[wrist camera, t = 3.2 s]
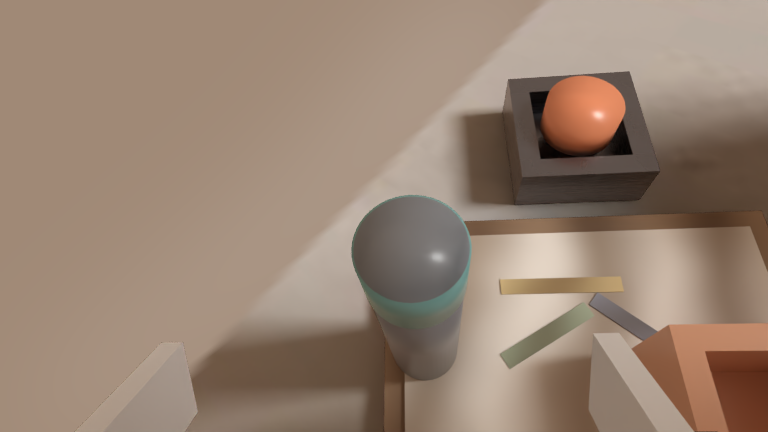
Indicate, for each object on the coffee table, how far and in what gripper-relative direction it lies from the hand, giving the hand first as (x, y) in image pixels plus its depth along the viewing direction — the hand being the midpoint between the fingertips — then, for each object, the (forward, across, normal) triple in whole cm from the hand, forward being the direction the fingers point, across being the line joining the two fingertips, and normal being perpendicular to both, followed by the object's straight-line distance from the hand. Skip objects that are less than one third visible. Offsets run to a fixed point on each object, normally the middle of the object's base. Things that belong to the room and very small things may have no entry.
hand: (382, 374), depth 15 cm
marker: (+8, +1, -4) cm, 9 cm away
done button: (+15, +10, +6) cm, 19 cm away
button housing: (+17, +10, +4) cm, 20 cm away
